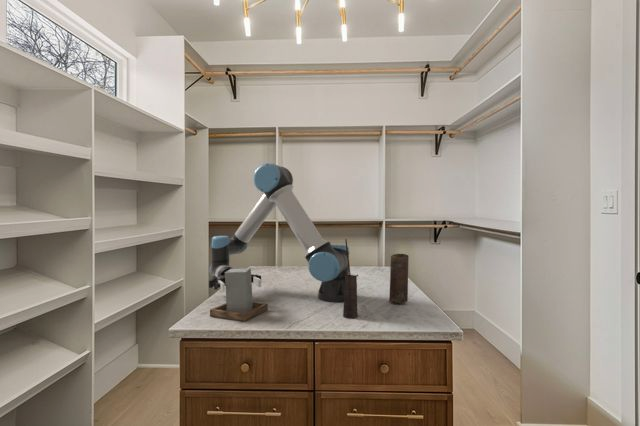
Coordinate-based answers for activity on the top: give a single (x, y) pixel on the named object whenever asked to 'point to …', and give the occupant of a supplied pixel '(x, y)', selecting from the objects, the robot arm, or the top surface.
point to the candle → (399, 278)
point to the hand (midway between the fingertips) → (242, 285)
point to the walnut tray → (223, 313)
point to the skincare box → (238, 290)
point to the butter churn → (350, 293)
